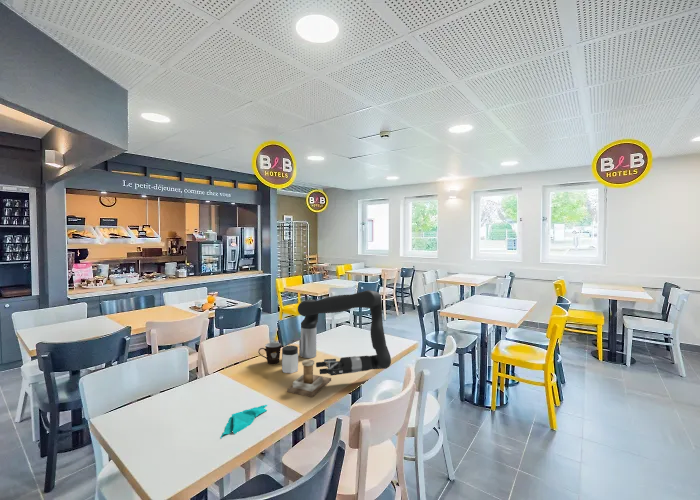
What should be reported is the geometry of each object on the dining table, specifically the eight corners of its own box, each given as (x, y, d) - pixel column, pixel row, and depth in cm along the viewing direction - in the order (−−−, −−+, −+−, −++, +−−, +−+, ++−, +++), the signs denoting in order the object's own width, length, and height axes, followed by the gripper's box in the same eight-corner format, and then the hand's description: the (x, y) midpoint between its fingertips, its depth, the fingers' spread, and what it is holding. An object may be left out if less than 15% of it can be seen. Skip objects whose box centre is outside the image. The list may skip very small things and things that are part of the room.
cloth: (259, 402, 145) (259, 397, 145) (281, 412, 137) (281, 406, 137) (202, 430, 124) (202, 424, 124) (225, 444, 116) (225, 437, 116)
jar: (281, 367, 181) (281, 345, 181) (296, 366, 184) (296, 344, 183) (282, 374, 173) (283, 351, 172) (298, 372, 175) (299, 349, 175)
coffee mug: (282, 359, 193) (283, 342, 192) (278, 365, 184) (278, 347, 184) (263, 359, 194) (263, 341, 193) (257, 364, 185) (257, 346, 185)
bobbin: (299, 386, 156) (299, 362, 156) (306, 381, 162) (306, 358, 161) (310, 388, 154) (310, 364, 154) (316, 383, 159) (316, 360, 159)
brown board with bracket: (287, 391, 154) (287, 383, 153) (308, 375, 171) (308, 368, 171) (312, 397, 149) (312, 388, 148) (331, 380, 166) (331, 373, 166)
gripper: (346, 352, 170) (314, 355, 166) (355, 362, 157) (321, 365, 152) (346, 366, 171) (314, 370, 166) (355, 378, 157) (320, 382, 152)
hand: (317, 368), depth 159 cm, fingers open, 8 cm apart
